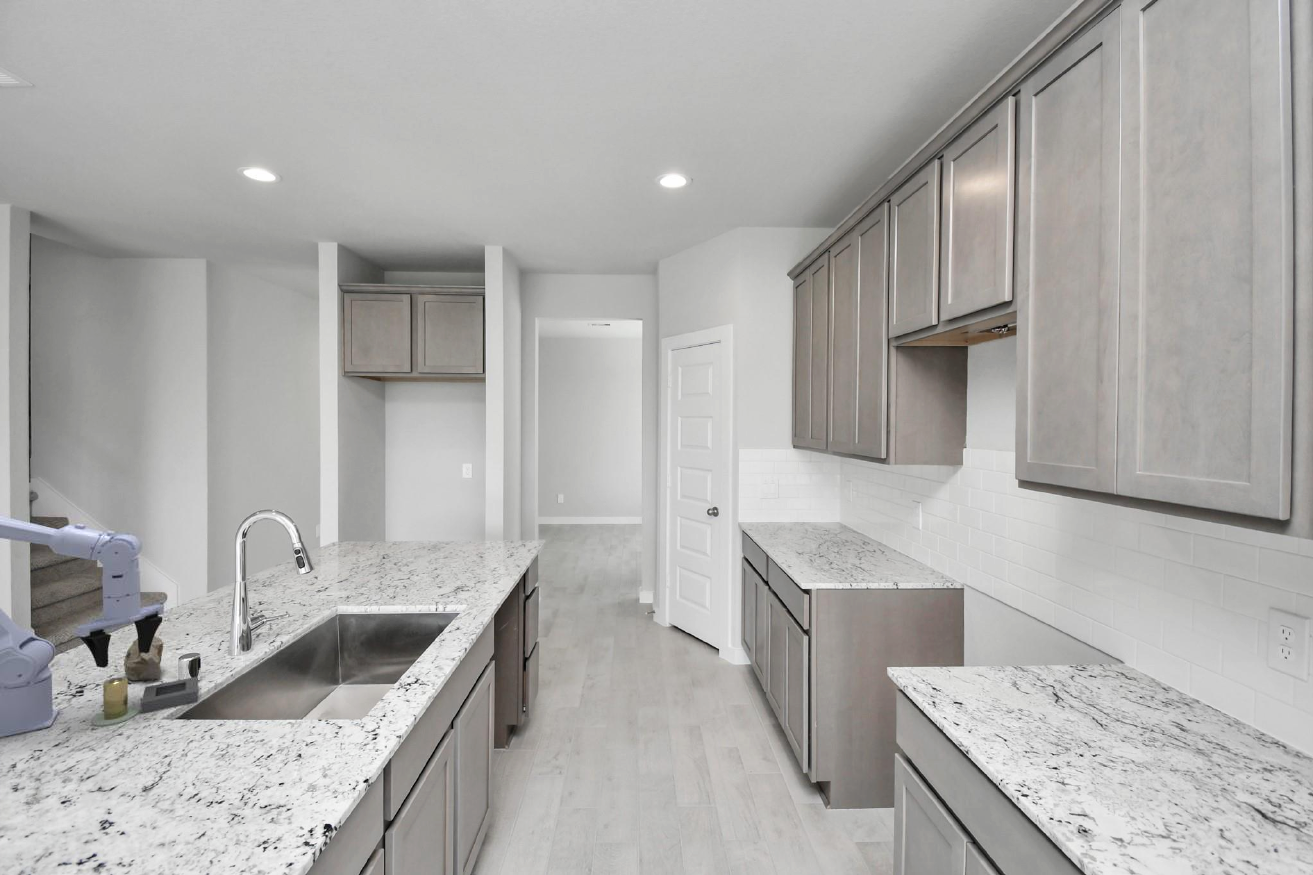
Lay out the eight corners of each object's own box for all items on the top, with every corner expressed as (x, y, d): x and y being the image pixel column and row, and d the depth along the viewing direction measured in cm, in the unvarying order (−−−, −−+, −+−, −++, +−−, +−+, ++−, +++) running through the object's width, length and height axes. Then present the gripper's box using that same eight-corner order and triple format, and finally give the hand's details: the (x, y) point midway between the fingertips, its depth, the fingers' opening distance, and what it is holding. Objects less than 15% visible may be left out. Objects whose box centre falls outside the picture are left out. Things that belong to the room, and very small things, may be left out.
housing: (141, 713, 121) (141, 702, 121) (145, 697, 128) (145, 686, 128) (197, 701, 126) (197, 691, 126) (198, 686, 134) (197, 676, 134)
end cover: (102, 721, 117) (101, 685, 117) (105, 714, 120) (104, 678, 120) (126, 716, 119) (126, 680, 119) (128, 709, 122) (128, 674, 122)
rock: (121, 665, 142) (128, 628, 140) (157, 661, 146) (164, 625, 145) (119, 698, 133) (127, 659, 131) (157, 693, 138) (165, 655, 136)
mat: (88, 729, 115) (88, 727, 115) (94, 715, 120) (94, 713, 120) (137, 719, 119) (136, 717, 119) (140, 705, 124) (140, 703, 124)
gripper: (93, 606, 115) (95, 675, 115) (173, 586, 129) (175, 648, 129) (68, 603, 117) (70, 671, 117) (149, 583, 131) (151, 644, 131)
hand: (123, 659), depth 123 cm, fingers open, 7 cm apart
